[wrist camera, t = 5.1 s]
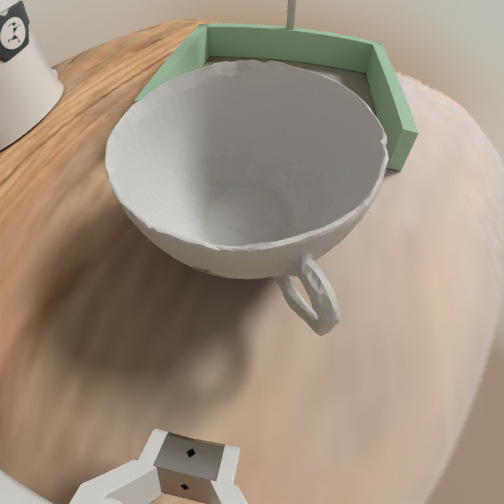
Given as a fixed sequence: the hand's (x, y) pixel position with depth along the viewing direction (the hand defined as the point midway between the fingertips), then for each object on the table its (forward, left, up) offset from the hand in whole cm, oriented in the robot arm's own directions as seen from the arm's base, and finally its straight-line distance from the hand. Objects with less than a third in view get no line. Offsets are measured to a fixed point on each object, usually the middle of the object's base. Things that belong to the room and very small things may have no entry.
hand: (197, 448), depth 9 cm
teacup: (0, +11, -5) cm, 13 cm away
